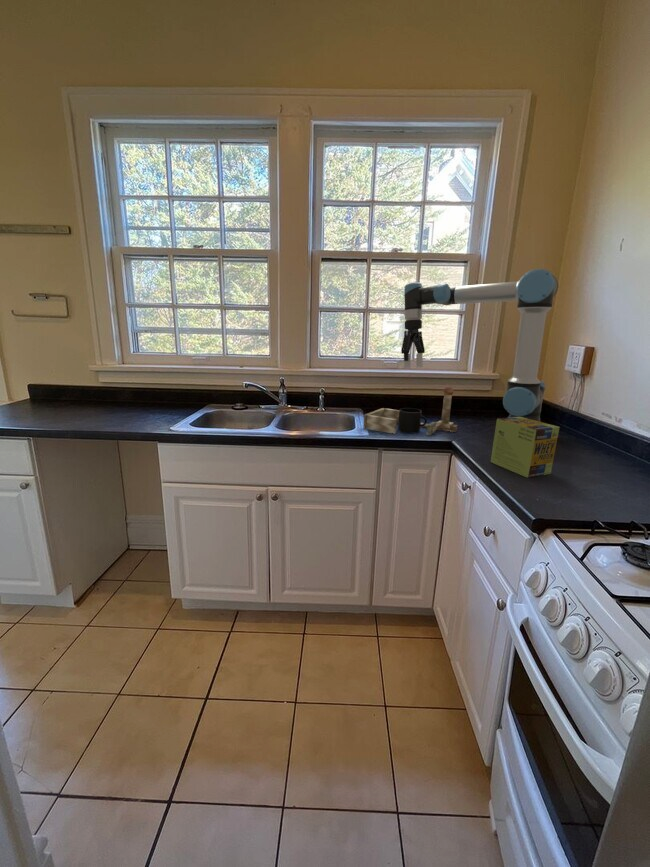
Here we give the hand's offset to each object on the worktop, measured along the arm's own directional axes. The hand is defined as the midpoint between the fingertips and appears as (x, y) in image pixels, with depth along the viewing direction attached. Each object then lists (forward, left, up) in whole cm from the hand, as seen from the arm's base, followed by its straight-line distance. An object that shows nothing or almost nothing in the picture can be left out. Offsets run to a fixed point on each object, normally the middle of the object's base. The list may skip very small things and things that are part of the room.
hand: (413, 368), depth 180 cm
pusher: (-18, +10, -25) cm, 32 cm away
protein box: (-53, +37, -26) cm, 69 cm away
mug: (-7, +15, -26) cm, 30 cm away
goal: (+4, +15, -25) cm, 29 cm away
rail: (-10, +4, -25) cm, 28 cm away
